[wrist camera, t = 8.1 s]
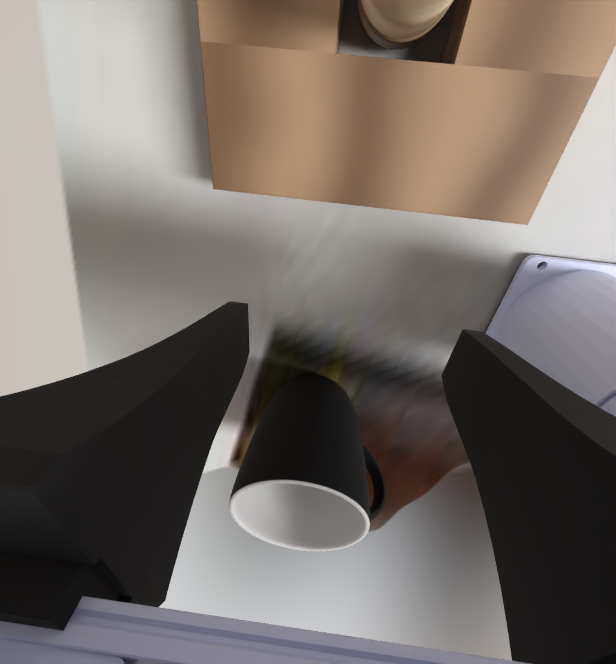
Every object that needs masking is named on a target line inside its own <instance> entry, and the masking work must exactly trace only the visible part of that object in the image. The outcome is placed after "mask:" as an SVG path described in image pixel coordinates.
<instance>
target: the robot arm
mask: <svg viewBox="0 0 616 664" xmlns="http://www.w3.org/2000/svg"><path fill="white" fill-rule="evenodd" d="M541 262H544V263H543V265H542V266H540V267H537V265H538V264H539V263H541ZM248 355H249V322H248V304H246V303H238V302H228V303H226V304H225V305H223V306H221V307H220V308H218V309H216V310H215V311H213V312H211V313H210V314H208V315H207V316H205V317H203V318H202V319H200V320H198V321H197V322H195V323H193V324H192V325H190V326H188V327H187V328H185V329H183V330H181V331H179V332H177V333H176V334H174V335H172V336H170V337H168V338H166V339H165V340H163V341H161V342H159V343H157V344H155V345H153V346H151V347H148V348H146V349H144V350H142V351H140V352H137V353H135V354H133V355H130V356H128V357H126V358H123V359H121V360H118V361H115V362H113V363H110V364H107V365H104V366H102V367H99V368H96V369H93V370H91V371H88V372H85V373H82V374H79V375H76V376H73V377H70V378H67V379H64V380H60V381H57V382H54V383H50V384H47V385H43V386H39V387H36V388H33V389H29V390H25V391H21V392H17V393H14V394H9V395H5V396H1V397H0V664H616V264H610V263H601V262H593V261H585V260H576V259H568V258H559V257H551V256H542V255H530V256H527V257H526V258H525V259H524V260H523V261H522V263H521V265H520V267H519V269H518V271H517V273H516V275H515V276H514V278H513V280H512V282H511V284H510V286H509V288H508V290H507V292H506V294H505V296H504V298H503V300H502V302H501V304H500V306H499V308H498V310H497V311H496V313H495V315H494V317H493V319H492V321H491V323H490V325H489V327H488V329H487V331H486V333H483V332H479V331H471V330H462V332H461V334H460V337H459V339H458V341H457V343H456V345H455V347H454V350H453V352H452V354H451V356H450V358H449V360H448V363H447V365H446V367H445V369H444V371H443V373H442V380H443V385H444V390H445V395H446V399H447V403H448V405H449V408H450V411H451V413H452V416H453V419H454V421H455V424H456V427H457V429H458V432H459V434H460V437H461V440H462V442H463V445H464V447H465V450H466V453H467V455H468V458H469V460H470V463H471V466H472V469H473V472H474V475H475V478H476V481H477V485H478V489H479V493H480V496H481V500H482V504H483V507H484V511H485V516H486V520H487V524H488V528H489V533H490V537H491V541H492V545H493V551H494V555H495V561H496V566H497V571H498V575H499V581H500V585H501V590H502V597H503V603H504V610H505V615H506V621H507V628H508V634H509V641H510V649H511V656H512V661H510V660H503V659H497V658H491V657H483V656H477V655H470V654H464V653H457V652H450V651H444V650H437V649H431V648H424V647H417V646H410V645H404V644H398V643H390V642H384V641H377V640H371V639H364V638H357V637H351V636H344V635H338V634H331V633H325V632H318V631H311V630H305V629H298V628H291V627H284V626H277V625H271V624H265V623H258V622H251V621H244V620H238V619H231V618H225V617H218V616H211V615H205V614H198V613H191V612H185V611H179V610H172V609H165V608H159V606H160V605H161V604H162V603H163V602H164V601H165V599H166V595H167V591H168V587H169V584H170V580H171V576H172V573H173V569H174V565H175V562H176V558H177V555H178V551H179V547H180V544H181V540H182V537H183V533H184V530H185V527H186V524H187V520H188V517H189V513H190V509H191V507H192V503H193V500H194V497H195V494H196V491H197V488H198V484H199V481H200V478H201V475H202V472H203V469H204V466H205V463H206V460H207V457H208V454H209V451H210V448H211V445H212V442H213V440H214V438H215V435H216V433H217V430H218V428H219V426H220V424H221V421H222V419H223V417H224V415H225V413H226V410H227V408H228V406H229V404H230V402H231V400H232V397H233V395H234V393H235V391H236V389H237V386H238V384H239V382H240V380H241V377H242V375H243V372H244V368H245V365H246V362H247V358H248Z"/></svg>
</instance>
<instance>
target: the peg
mask: <svg viewBox="0 0 616 664" xmlns="http://www.w3.org/2000/svg"><path fill="white" fill-rule="evenodd" d="M453 1H454V0H358V8H359V14H360V18H361V21H362V24H363V26H364V28H365V30H366V32H367V34H368V35H369V36H370V38H371V39H372V40H373V41H374V42H375V43H377V44H378V45H380V46H382V47H384V48H387V49H394V50H397V49H403V48H407V47H409V46H411V45H413V44H415V43H417V42H418V41H419V40H421V39H422V38H423V37H424V36H425V35H426V34H427V33H428V32H429V31H430V30H431V29H432V28H433V27H434V26H435V25H436V24H437V23H438V22H439V21H440V19H441V18H442V17H443V16H444V14H445V13H446V12H447V10H448V8H449V7H450V5H451V4H452V2H453Z"/></svg>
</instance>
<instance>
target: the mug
mask: <svg viewBox="0 0 616 664" xmlns="http://www.w3.org/2000/svg"><path fill="white" fill-rule="evenodd" d="M366 468H367V470H368V472H369V474H370V477H371V480H372V484H373V489H374V499H373V503H372V505H371V507H370V504H369V492H368V482H367V473H366ZM385 497H386V489H385V482H384V478H383V475H382V472H381V469H380V467H379V465H378V463H377V462H376V460H375V458H374V457H373V455H372V454H371V453H370V452H369V450H368V449H367V448H366V447H365V446H364V445H363V444H362V439H361V434H360V430H359V425H358V421H357V417H356V413H355V410H354V407H353V405H352V402H351V400H350V398H349V397H348V395H347V394H346V392H345V391H344V390H343V389H342V388H341V387H340V386H339V385H338V384H336V383H335V382H333V381H331V380H329V379H327V378H323V377H319V376H301V377H297V378H294V379H292V380H290V381H288V382H287V383H285V384H284V385H283V386H282V387H281V388H280V389H279V390H278V391H277V392H276V393H275V395H274V396H273V397H272V399H271V401H270V402H269V404H268V406H267V408H266V409H265V411H264V413H263V415H262V417H261V419H260V421H259V423H258V426H257V428H256V430H255V432H254V435H253V437H252V439H251V442H250V444H249V447H248V449H247V451H246V454H245V456H244V459H243V462H242V464H241V467H240V470H239V472H238V475H237V478H236V481H235V484H234V487H233V490H232V493H231V497H230V502H229V509H230V513H231V515H232V517H233V519H234V520H235V521H236V523H237V524H238V525H239V526H240V527H241V528H243V529H244V530H245V531H247V532H248V533H250V534H251V535H253V536H255V537H257V538H259V539H261V540H263V541H266V542H269V543H271V544H274V545H278V546H281V547H286V548H291V549H296V550H304V551H330V550H337V549H342V548H345V547H349V546H351V545H353V544H355V543H357V542H359V541H360V540H361V539H362V538H363V537H364V536H365V535H366V534H367V532H368V530H369V526H370V521H371V520H373V519H375V518H376V517H377V516H378V515H379V514H380V512H381V511H382V509H383V507H384V503H385Z"/></svg>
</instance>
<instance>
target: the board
mask: <svg viewBox="0 0 616 664" xmlns="http://www.w3.org/2000/svg"><path fill="white" fill-rule="evenodd" d="M343 1H344V0H197V5H198V17H199V29H200V40H201V52H202V63H203V75H204V86H205V98H206V110H207V121H208V133H209V144H210V156H211V167H212V179H213V189H218V190H227V191H236V192H244V193H253V194H262V195H271V196H279V197H288V198H297V199H306V200H315V201H323V202H332V203H341V204H350V205H358V206H367V207H376V208H385V209H393V210H402V211H411V212H420V213H428V214H437V215H446V216H455V217H464V218H472V219H481V220H490V221H499V222H507V223H516V224H525V225H528V223H529V221H530V219H531V217H532V215H533V213H534V211H535V209H536V207H537V205H538V203H539V201H540V199H541V197H542V194H543V192H544V190H545V188H546V186H547V184H548V182H549V180H550V178H551V176H552V174H553V172H554V170H555V168H556V166H557V164H558V162H559V160H560V158H561V156H562V154H563V152H564V150H565V147H566V145H567V143H568V141H569V139H570V137H571V135H572V133H573V131H574V129H575V127H576V125H577V123H578V121H579V119H580V117H581V115H582V113H583V111H584V109H585V107H586V105H587V103H588V100H589V98H590V96H591V94H592V92H593V90H594V88H595V86H596V84H597V82H598V80H599V78H600V76H601V74H602V72H603V70H604V68H605V66H606V64H607V62H608V60H609V58H610V55H611V53H612V51H613V49H614V47H615V45H616V0H458V1H457V5H456V8H455V12H454V16H453V20H452V24H451V28H450V32H449V36H448V40H447V44H446V48H445V52H444V56H443V60H442V63H433V62H422V61H411V60H400V59H389V58H379V57H368V56H357V55H346V54H338V49H339V40H340V30H341V21H342V11H343Z"/></svg>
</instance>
